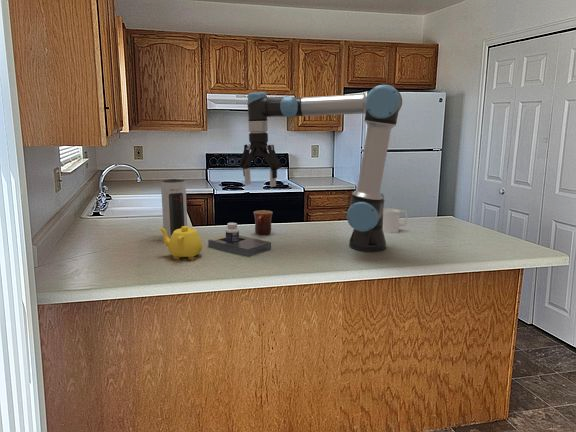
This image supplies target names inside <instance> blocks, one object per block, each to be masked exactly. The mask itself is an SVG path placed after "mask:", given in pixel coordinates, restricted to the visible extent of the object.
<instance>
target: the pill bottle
mask: <svg viewBox="0 0 576 432" xmlns="http://www.w3.org/2000/svg"><path fill="white" fill-rule="evenodd" d="M226 225H227V227H226V229H225V236H226V242H230V243H235V242H238V241H239V235H240V230H239V228H238V223H237V222H228V223H227V224H226Z"/></svg>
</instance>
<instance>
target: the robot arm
mask: <svg viewBox="0 0 576 432" xmlns="http://www.w3.org/2000/svg"><path fill="white" fill-rule="evenodd" d="M402 106H403V97H402V95H401V92H399V90H398V89H396V88H395V87H394V86H393V85H390V84H379V85H376V86H374V87H373V88H372V89H371V90H366V91H365V93H358V94H357V93H356V94H339V95H323V96H321V95H319V96H305V97H295V96H290V95H289V96H287V95H286V96H273V97H271V96H267V92H265V91H259V92H255V91H254V92H250V93H248V94H247V117H248V132H249V134H248V140H249V141H248V142H249V143H250V144H248V143H247V144H244V145H243V153H242V155H241V157H240V160H239V161H240V162H239V164H238V166H239V168H242V172H243V174H242V175H243V177H244V185H245V186H247V185H251V183H252V182H251V168H250V165H251V164H252V162H253V161H254V159H255V158H256V157H262V158H263V159H264V160H265V162H266V164H267V165H268V167H269V168H270V170H269V187H270V188H273V187H277V178H278V170H279V169H281V168H282V166H281V162H280V160H279V158H278V156H277V153H276V151H275V145H274V144H268V142H269V133H268V118H271V117H274V118H275V117H278V118H279V117H280V118H281V117H285V118H286V117H287V118H294V117H296V118H297V117H308V116H311V117H313V116H334V115H335V116H336V115H359V114H360V115H361V114H362V115H363V114H365V116H364V122H365V124H366V126H367V128H366V134H365V140H364V146H363V152H362V158H361V165H360V170H359V175H358V181H357V186H356V189H355V190H354V191H353V192H352V194H351V198H350V204H349V205H350V206H349V207H348V209H347V211H346V212H347V213H346V220H347V222H348V225H349V226H351V228H352V229H353V230H352V233H351V235H350V239H349V240H348V241H349V244H348V246H349V248H350V249H353V250H355V251H361V252H372V253H373V252H380V251H384V250H386V249H387V241H386V238H385V234H384V233H385V232H383V211H384V209H385V195H384V193H381V186H382V181H383V175H384V170H385V165H386V159H387V154H388V148H389V143H390V137H391V132H392V129H393V128H394V127H396V126H397V121H398V117H399V113H400V110H401V109H402Z"/></svg>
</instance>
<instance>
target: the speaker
mask: <svg viewBox="0 0 576 432" xmlns="http://www.w3.org/2000/svg"><path fill="white" fill-rule="evenodd" d="M186 182H187V181H186V180H185V179H177V178H170V179H164V180H161V181H160V191H161V192H160V193H161V207H162V208H161V209H162V228H164V229H165V230H166V232H167V236H168V238H169V239H170V238H171V236H172V234H173V232H174V231H175V230H177V229H181V227H182V226H188V210H187V207H188V206H187V190H186V189H187V188H186V187H187V185H186Z"/></svg>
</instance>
